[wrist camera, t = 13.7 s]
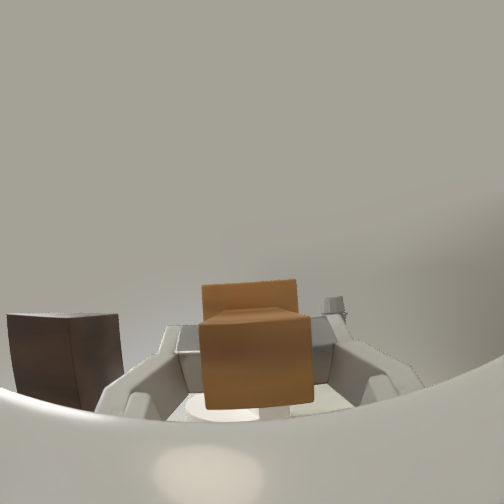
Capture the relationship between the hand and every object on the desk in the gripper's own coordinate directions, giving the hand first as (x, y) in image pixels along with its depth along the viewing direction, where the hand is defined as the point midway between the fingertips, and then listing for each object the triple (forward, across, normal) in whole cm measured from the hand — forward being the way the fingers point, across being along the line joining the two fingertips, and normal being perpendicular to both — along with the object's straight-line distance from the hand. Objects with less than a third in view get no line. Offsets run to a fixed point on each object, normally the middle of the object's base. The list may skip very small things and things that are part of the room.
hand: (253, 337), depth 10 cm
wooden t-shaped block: (+4, 0, +4) cm, 6 cm away
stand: (-4, +15, +27) cm, 31 cm away
